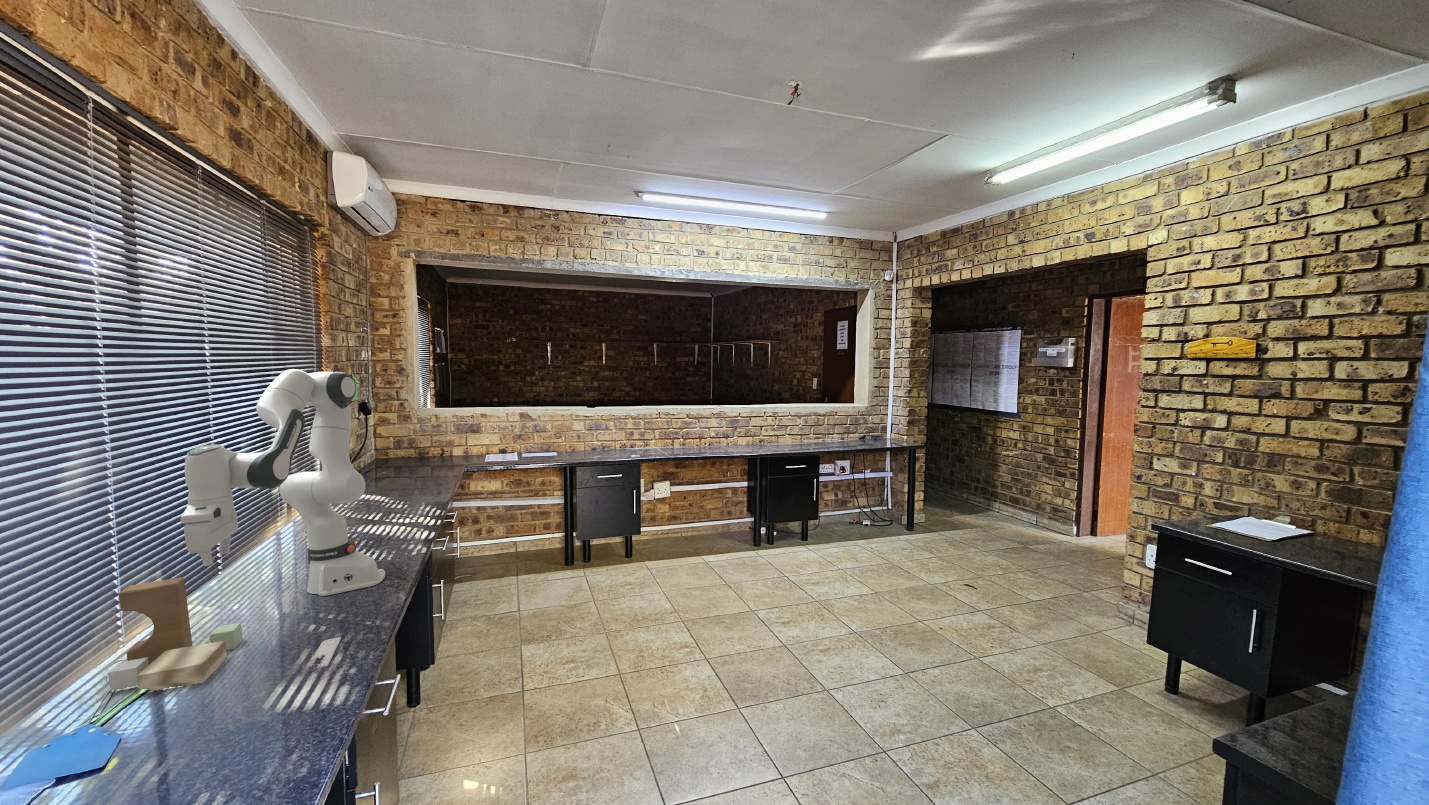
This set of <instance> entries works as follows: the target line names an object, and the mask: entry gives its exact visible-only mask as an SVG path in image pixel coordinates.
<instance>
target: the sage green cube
mask: <svg viewBox="0 0 1429 805" xmlns="http://www.w3.org/2000/svg"><path fill="white" fill-rule="evenodd" d="M243 637H244V636H243V629H242V622H236V623H230V624H224V625H218V626H217V627H216V628H214V630H213V631H212V632H211V633H210V634H209V643H213V642H219V641H225V646H226V651H228V650H234V649H236V648H237V647H238V646H239V645H240V644H241V643H242V641H244V638H243Z"/></svg>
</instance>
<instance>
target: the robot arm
mask: <svg viewBox="0 0 1429 805" xmlns="http://www.w3.org/2000/svg"><path fill="white" fill-rule="evenodd" d="M356 392H357V384H356V381H355V379H354V378H353V377H352V376H351V375H350V374H349V373H347V372H342V371H334V372H333V371H316V372H309V373H307V372H306V371H303V370H302V369H301V370H300V369H295V368H291V369H286V370H284V371H283V372H281V373H280V374H279V375H278V376H277V377H276V378H275V379H274V380H273V381H272V382H271V383H270V384H269V385H268V386H267V388H266V389H265V390H264V392H263V393H262V394H261V396H260V398H259V399H258V400H257V403H256V407H255V409H256V413H257V415H258V417H259V418H260V419H261V421H263V422H264V423H265V424H266V425H268V426H270V427H272V428H275V429H277V432H276V435H275V437H274V439H273V442H272V443H271V446H270V447H269V448H268V449H266V450H263V451H259V452H238V451H237V452H236V451H233V450H229V449H228V448H225V446H224V445H223V444H219V443H218V444H214V443H212V444H207V445H201V446H197V447H195V448H193V449H192V448H191V450H189V451H188V452H187V453H186V454H185V455H186V456H185V459H184V479H185V485H186V487H187V489H188V495H187V506H186V508H185V509H184V511H183V512H182V514H181V516H180V523H181V524H184V526H183V532H184V533H183V536H184V539H185V546H186V550H187V551H188V553H190V554H198V556H199V558H200V559H201V561H202V566H203V567H208V566H211V565H213V564H214V563H215V559H214V558H215V557H214V556H212V549H213V548H214V547H215V546H218V544H219V546H220V547H219V548H218V552H219V555H227V554H228V553H230V552H231V549H230V545H231V542H232V535H233V534H235V533H237V532H238V531H239V523H238V522H239V520H238V514H237V511H236V508H235V505H234V497H233V496H234V495H233V491H232V489H254V488H255V489H268V490H271V489H272V490H274V489H275V488H278V487H279V488H278V490H279V495H280V497H281V498H280V499H282V500H283V501H284V502H285V503H287V504H288V505H290V506H292V507H293V509H294V510H295V511H296V512H297V513H298V515H299V516H300V518H301V520H302V521H303V524H304V527H305V531H306V539H307V545H308V547H307V549H306V556H307V562H308V566H309V570H308V571H309V575H308V581H307V582H308V583H307V586H306V587H307V588H306V592H307V593H308V594H314V595H319V596H321V597H326V596H330V595H336V594H341V593H346V592H350V591H355V590H358V589H364V588H368V587H373V586H376V585H378V584H380V583H381V582H382V581H383V580H384V579H385V577H386V575H387V574H386V570H384V569H383V568H380V569H379V568H378V565H377V562H376V560H375V558H374V557H372V556H369V555H367V554H365V553H363V552H360V551H358V550H357V545H356V544H357V543H356V540H354V542H353V541H352V540H349V536H348V535H349V534H348V524H347V519H346V518H345V517H344V516H343V515H342V514H340V513H338V512H336V511H335V510H334V509H333V507H332V506H331V505H338V504H339V505H340V504H342V505H343V504H346V503H347V504H348V503H351V502H355V501H359V500H360V499H361V497H363V495H364V493H365V491H366V481H365V478H364V476H363V475H362V474H361V473H360V472H358V471H357V470H356V469H355V467H354V466H353V464H352V461H351V459H350V454H349V452H350V451H349V448H350V440H351V431H352V410H351V405H350V404H351V403H352V401H353V400H354V398H355V397H356V396H355V395H356ZM306 406H307V407H308V406H309V407H315V411H316V412H315V413H314V417H313V422H312V427H311V432H310V438H309V445H308V451H309V454H310V455H311V456H312V457H313V458H315V459H316V460H319V461H320V463H321V470H319V471H318V470H317V471H315V470H314V471H313V470H312V471H301V472H295V473H293V474H290V471H291V466H292V462H293V461H292V460H293V458H294V455H295V453H296V450H297V448H298V445H299V443H300V440H301V438H302V435H303V432H304V429H305V425H306V417H305V414H304V413H303V411H304V410H305V408H306Z"/></svg>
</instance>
